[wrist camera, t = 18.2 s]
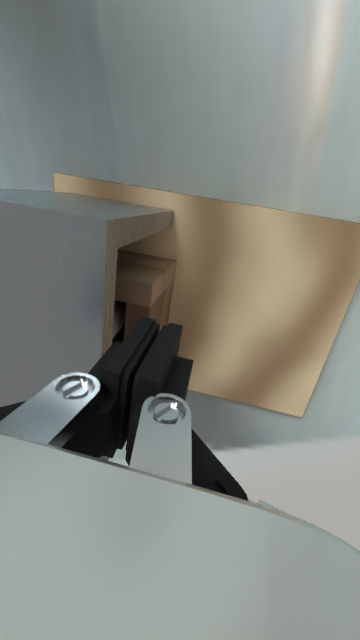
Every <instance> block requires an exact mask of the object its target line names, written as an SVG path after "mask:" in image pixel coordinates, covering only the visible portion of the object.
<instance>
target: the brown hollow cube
mask: <svg viewBox="0 0 360 640" xmlns="http://www.w3.org/2000/svg"><path fill="white" fill-rule="evenodd" d="M176 265H177V260H173V259H167V258H162V257H157V256H152V255H146V254H141V253H136V252H131V251H126V250H120V249H118V253H117V269H116V286H115V300H118V301H122V302H127V305H126V318H125V325H124V327H123V328H122V329H121V330H120V331H119V332H118V333H117V334H116V335H115V336H114V337H113V339H112V344H113V343H114V342H118V343H122V342H123V341H124V339H125V338H126V337H127V335H128V334H129V333H130V332H131V330H132V329H133V328H134V326H135V325H136V324H137V323H138V321H139V320H140V319H141V317H147V318H151V319H156V323H158V324H160V330H161V328H162V327H163V325H167V326H168V320H169V313H170V306H171V299H172V292H173V285H174V278H175V272H176ZM159 332H160V331H159Z"/></svg>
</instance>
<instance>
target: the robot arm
mask: <svg viewBox="0 0 360 640" xmlns="http://www.w3.org/2000/svg"><path fill="white" fill-rule="evenodd" d="M182 328H183V325H179V324H174V323H169V324H168V326H167V325H163V327H162V328H161V330H160V324H158V323H156V319H151V318H147V317H141V319H140V320H139V321H138V323H137V324H136V325H135V326H134V328H133V329H132V330H131V332H130V333H129V334H128V335H127V337H126V338H125V339H124V341H123V342H122V343H118V342H114V343H113V344H112V345H111V346H110V347H109V349H108V350H107V351H106V352H105V353H104V355H103V356H102V357H101V358H100V359H99V361H98V362H97V363H96V364H95V365H94V366H93V368H92V369H91V370H90V371H89V372H88V374H87V373H79V372H75V373H68V374H65V375H62V376H60V377H58V378H57V379H55V380H54V381H52V382H51V383H50V384H48V385H47V386H46V387H45V388H43V389H42V390H41V391H39V392H38V393H37V394H35V395H34V396H33V397H31V398H30V399H29V400H27V401H23V402H19V403H15V404H11V405H7V406H3V407H0V640H360V551H359V550H357V549H356V548H354V547H353V546H351V545H349V544H348V543H346V542H345V541H343V540H342V539H340V538H338V537H336V536H334V535H332V534H331V533H329V532H327V531H325V530H323V529H321V528H319V527H317V526H315V525H313V524H311V523H308V522H306V521H303V520H301V519H299V518H296V517H294V516H291V515H289V514H287V513H285V512H283V511H281V510H279V509H277V508H275V507H273V506H271V505H269V504H267V503H265V502H263V501H261V500H259V502H258V504H257V503H255V502H253V501H251V500H249V499H248V498H247V495H246V493H245V492H244V490H243V489H242V487H241V486H240V485H239V484H238V482H237V481H236V480H235V479H234V478H233V477H232V476H231V474H230V473H229V472H228V471H227V470H226V468H225V467H224V466H223V465H222V464H221V463H220V461H219V460H218V459H217V458H216V457H215V455H214V454H213V453H212V452H211V451H210V450H209V448H208V447H207V446H206V445H205V444H204V443H203V441H202V440H201V439H200V438H199V437H198V436H197V434H196V433H195V432H194V431H193V430H192V429H191V410H190V407H189V405H188V404H187V402H185V398H186V394H187V390H188V385H189V381H190V376H191V371H192V367H193V361H194V360H191V359H187V358H183V357H178V351H179V345H180V340H181V334H182ZM159 331H160V332H159ZM126 440H127V444H126V462H127V463H128V465H129V467H127V466H124V465H121V464H117V463H113V462H110V461H106V460H103V459H99V457H102V456H106V457H109V458H113V456H114V454H115V452H116V449H122V448H123V447H124V444H125V442H126Z"/></svg>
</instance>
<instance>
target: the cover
mask: <svg viewBox="0 0 360 640" xmlns="http://www.w3.org/2000/svg"><path fill="white" fill-rule="evenodd" d="M173 215H174V210H168V209H162V208H156V207H150V206H145V205H139V204H133V203H127V202H121V201H116V200H110V199H104V198H98V197H92V196H87V195H81V194H75V193H69V192H50V191H31V190H12V189H0V407H3V406H7V405H11V404H15V403H19V402H23V401H27V400H29V399H30V398H31V397H33V396H34V395H35V394H37V393H38V392H39V391H41V390H42V389H43V388H45V387H46V386H47V385H48V384H50V383H51V382H52V381H54V380H55V379H57V378H58V377H60V376H62V375H65V374H68V373H75V372H79V373H87V374H88V372H89V371H90V370H91V369H92V368H93V366H94V365H95V364H96V363H97V362H98V361H99V359H100V358H101V357H102V356H103V355H104V353H105V352H106V351H107V350H108V349H109V347H110V346H111V345H112V335H113V318H114V302H115V286H116V269H117V253H118V248H120V247H123V246H125V245H128V244H130V243H133V242H135V241H138V240H140V239H143V238H146V237H148V236H151V235H153V234H156V233H158V232H161V231H163V230H166V229H169V228H171V227H172V222H173ZM99 459H103V460H106V461H108V459H109V457H106V456H102V457H99Z"/></svg>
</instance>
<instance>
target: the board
mask: <svg viewBox="0 0 360 640" xmlns="http://www.w3.org/2000/svg"><path fill="white" fill-rule="evenodd" d="M54 192H69V193H75V194H81V195H87V196H92V197H98V198H104V199H110V200H116V201H121V202H127V203H133V204H139V205H145V206H150V207H156V208H162V209H168V210H174V215H173V222H172V227H171V228H169V229H166V230H163V231H161V232H158V233H156V234H153V235H151V236H148V237H146V238H143V239H140V240H138V241H135V242H133V243H130V244H128V245H125V246H123V247H120V248H118V249H120V250H126V251H131V252H136V253H141V254H146V255H152V256H157V257H162V258H167V259H173V260H177V265H176V272H175V278H174V285H173V292H172V299H171V306H170V313H169V320H168V324H169V323H174V324H179V325H183V328H182V334H181V340H180V345H179V351H178V357H183V358H187V359H191V360H194V361H193V367H192V371H191V376H190V381H189V385H188V390H191V391H195V392H199V393H203V394H208V395H212V396H216V397H220V398H224V399H228V400H232V401H236V402H241V403H245V404H249V405H253V406H257V407H261V408H265V409H269V410H274V411H278V412H282V413H286V414H290V415H294V416H298V417H302V416H303V414H304V411H305V409H306V407H307V404H308V402H309V399H310V397H311V395H312V392H313V390H314V387H315V385H316V383H317V380H318V378H319V375H320V373H321V371H322V368H323V366H324V363H325V361H326V359H327V356H328V354H329V352H330V349H331V347H332V344H333V342H334V340H335V337H336V335H337V332H338V330H339V328H340V325H341V323H342V320H343V318H344V316H345V313H346V311H347V308H348V306H349V304H350V301H351V299H352V296H353V294H354V292H355V289H356V287H357V284H358V282H359V280H360V223H355V222H349V221H343V220H337V219H331V218H324V217H318V216H312V215H306V214H300V213H294V212H288V211H282V210H276V209H270V208H264V207H258V206H252V205H246V204H240V203H234V202H228V201H222V200H216V199H210V198H204V197H198V196H191V195H185V194H179V193H173V192H167V191H161V190H155V189H149V188H143V187H137V186H131V185H125V184H119V183H113V182H107V181H101V180H95V179H89V178H83V177H77V176H71V175H64V174H58V173H54ZM126 305H127V302H122V301H118V300H115V302H114V318H113V335H112V339H113V337H114V336H115V335H116V334H117V333H118V332H119V331H120V330H121V329H122V328H123V327H124V325H125V318H126Z"/></svg>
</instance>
